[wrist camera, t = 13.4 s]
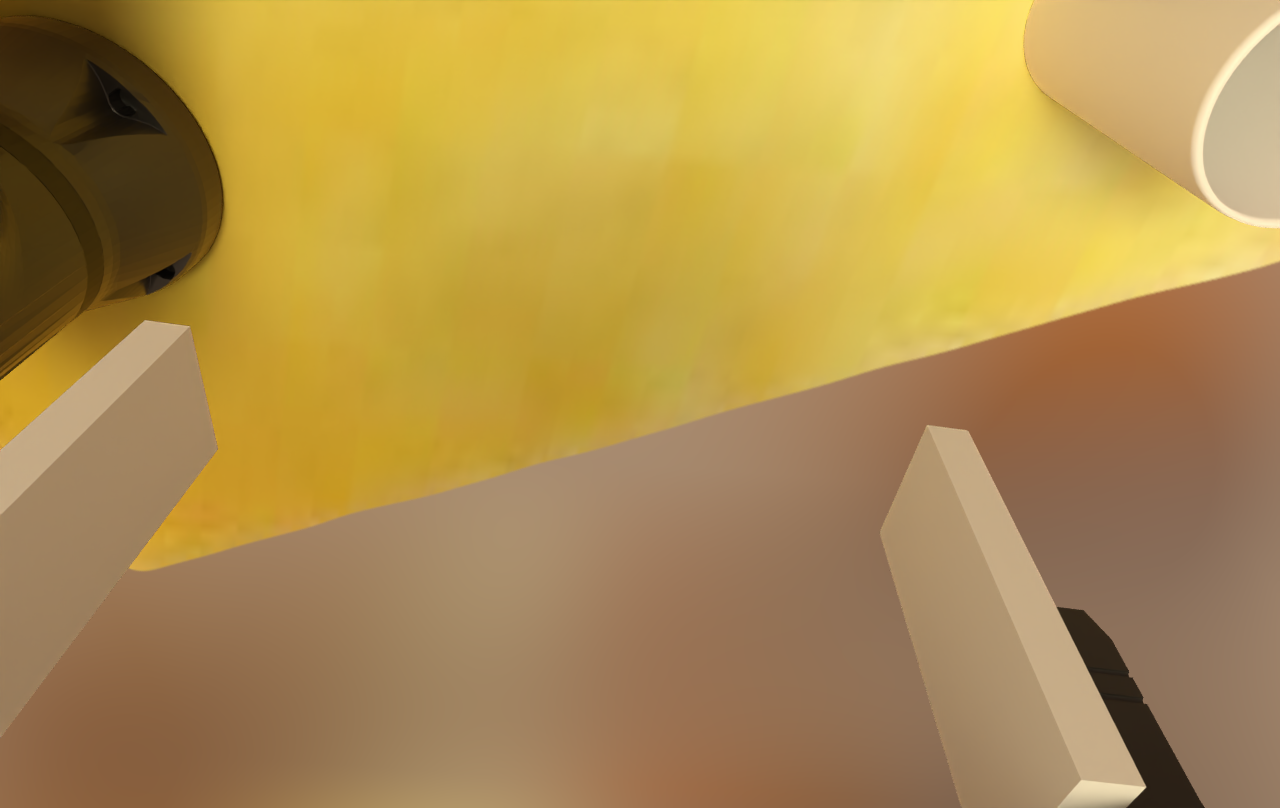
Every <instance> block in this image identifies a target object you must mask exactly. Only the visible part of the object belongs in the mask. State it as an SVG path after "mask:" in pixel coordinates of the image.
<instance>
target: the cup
mask: <svg viewBox="0 0 1280 808" xmlns="http://www.w3.org/2000/svg"><path fill="white" fill-rule="evenodd" d="M1024 55H1025V61H1026V64H1027V68H1028V70H1029V73H1030V75H1031V77H1032V79H1033V80H1034V82H1035V83H1036V85H1037V86H1038V87H1039V88H1040V89H1041V90H1042V91H1043V92H1044V93H1045V94H1046V95H1047V96H1049V97H1050V98H1052V99H1053V100H1055V101H1056V102H1058V103H1059V104H1061V105H1062V106H1063V107H1065V108H1066V109H1068V110H1069V111H1071V112H1072V113H1074V114H1075V115H1077V116H1078V117H1080V118H1081V119H1083V120H1084V121H1086V122H1087V123H1089V124H1090V125H1092V126H1093V127H1095V128H1096V129H1098V130H1099V131H1100V132H1102V133H1103V134H1105V135H1106V136H1108V137H1109V138H1111V139H1112V140H1114V141H1115V142H1117V143H1118V144H1120V145H1121V146H1123V147H1124V148H1126V149H1127V150H1129V151H1130V152H1132V153H1133V154H1134V155H1136V156H1137V157H1139V158H1140V159H1142V160H1143V161H1145V162H1146V163H1148V164H1149V165H1151V166H1152V167H1154V168H1155V169H1157V170H1158V171H1160V172H1161V173H1163V174H1164V175H1166V176H1167V177H1168V178H1170V179H1171V180H1173V181H1174V182H1176V183H1177V184H1179V185H1180V186H1182V187H1183V188H1185V189H1186V190H1188V191H1189V192H1191V193H1192V194H1194V195H1195V196H1197V197H1198V198H1200V199H1201V200H1203V201H1204V202H1206V203H1207V204H1209V205H1210V206H1212V207H1213V208H1215V209H1216V210H1218V211H1219V212H1221V213H1223V214H1224V215H1226V216H1228V217H1230V218H1233V219H1235V220H1237V221H1240V222H1242V223H1245V224H1249V225H1252V226H1258V227H1265V228H1280V0H1034V2H1033V4H1032V6H1031V9H1030V12H1029V15H1028V18H1027V22H1026V27H1025V33H1024Z"/></svg>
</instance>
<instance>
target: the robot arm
mask: <svg viewBox="0 0 1280 808" xmlns="http://www.w3.org/2000/svg"><path fill="white" fill-rule="evenodd" d="M221 216H222V190H221V183H220V178H219V173H218V170H217V166H216V163H215V160H214V157H213V155H212V152H211V150H210V147H209V145H208V143H207V141H206V139H205V137H204V135H203V133H202V131H201V130H200V128H199V126H198V125H197V123H196V121H195V120H194V118H193V117H192V115H191V114H190V112H189V111H188V110H187V108H186V107H185V106H184V104H183V103H182V102H181V101H180V99H179V98H178V97H177V96H176V95H175V93H174V92H173V91H172V90H171V89H170V88H169V87H168V86H167V85H166V84H165V83H164V82H163V81H162V80H161V79H160V78H159V77H158V76H157V75H156V74H155V73H154V72H153V71H152V70H150V69H149V68H148V67H147V66H146V65H144V64H143V63H142V62H141V61H139V60H138V59H137V58H136V57H134V56H133V55H131V54H130V53H128V52H127V51H126V50H124V49H122V48H121V47H119V46H118V45H116V44H114V43H113V42H111V41H109V40H107V39H105V38H104V37H102V36H100V35H97V34H95V33H93V32H91V31H89V30H86V29H84V28H81V27H79V26H76V25H73V24H70V23H67V22H63V21H59V20H56V19H50V18H45V17H37V16H9V17H2V18H0V380H1V379H3V378H4V377H5V376H6V375H7V374H9V373H10V372H11V371H12V370H13V369H15V368H16V367H17V366H18V365H19V364H21V363H22V362H23V361H24V360H26V359H27V358H28V357H29V356H30V355H32V354H33V353H34V352H35V351H36V350H38V349H39V348H40V347H41V346H42V345H44V344H45V343H46V342H47V341H48V340H50V339H51V338H52V337H53V336H54V335H56V334H57V333H58V332H59V331H60V330H62V329H63V328H64V327H65V326H67V325H68V324H69V323H70V322H71V321H72V320H74V319H75V318H76V317H77V316H79V315H80V314H81V313H82V312H84V311H88V310H91V309H95V308H99V307H103V306H107V305H111V304H114V303H118V302H122V301H126V300H130V299H134V298H137V297H141V296H145V295H149V294H151V293H154V292H157V291H159V290H161V289H163V288H165V287H167V286H169V285H171V284H172V283H174V282H175V281H177V280H178V279H179V278H181V277H182V276H183V275H184V274H185V273H187V272H188V271H189V270H190V269H191V268H192V267H193V266H195V265H196V264H197V263H198V262H199V261H200V260H201V259H202V258H203V257H204V256H205V255H206V253H207V252H208V250H209V249H210V248H211V246H212V244H213V242H214V240H215V238H216V235H217V233H218V230H219V226H220V222H221ZM217 450H218V447H217V442H216V438H215V433H214V429H213V425H212V420H211V416H210V412H209V407H208V403H207V398H206V394H205V390H204V385H203V381H202V376H201V372H200V368H199V363H198V359H197V354H196V350H195V346H194V341H193V337H192V332H191V328H190V326H185V325H177V324H170V323H162V322H155V321H147V320H144V321H143V322H142V323H141V324H140V325H139V326H138V327H137V328H136V329H134V330H133V331H132V332H131V333H130V334H129V335H128V336H127V337H126V338H124V339H123V340H122V341H121V342H120V343H119V344H118V345H117V346H116V347H114V348H113V349H112V350H111V351H110V352H109V353H108V354H107V355H106V356H104V357H103V358H102V359H101V360H100V361H99V362H98V363H97V364H96V365H94V366H93V367H92V368H91V369H90V370H89V371H88V372H87V373H86V374H84V375H83V376H82V377H81V378H80V379H79V380H78V381H77V382H76V383H74V384H73V385H72V386H71V387H70V388H69V389H68V390H67V391H66V392H64V393H63V394H62V395H61V396H60V397H59V398H58V399H57V400H56V401H54V402H53V403H52V404H51V405H50V406H49V407H48V408H47V409H46V410H44V411H43V412H42V413H41V414H40V415H39V416H38V417H37V418H36V419H35V420H33V421H32V422H31V423H30V424H29V425H28V426H27V427H26V428H25V429H23V430H22V431H21V432H20V433H19V434H18V435H17V436H16V437H15V438H13V439H12V440H11V441H10V442H9V443H8V444H7V445H6V446H5V447H3V448H2V449H1V450H0V738H1V736H2V735H3V734H4V732H5V731H6V730H7V728H8V727H9V725H10V724H11V723H12V722H13V720H14V719H15V718H16V716H17V715H18V714H19V712H20V711H21V709H22V708H23V707H24V706H25V704H26V703H27V702H28V700H29V699H30V698H31V696H32V695H33V694H34V692H35V691H36V690H37V688H38V687H39V686H40V684H41V683H42V682H43V681H44V679H45V678H46V677H47V675H48V674H49V672H50V671H51V670H52V668H53V667H54V666H55V665H56V663H57V662H58V661H59V659H60V658H61V657H62V655H63V654H64V653H65V651H66V650H67V649H68V647H69V646H70V644H71V643H72V642H73V641H74V639H75V638H76V636H77V635H78V634H79V633H80V631H81V630H82V629H83V627H84V626H85V625H86V623H87V622H88V621H89V619H90V618H91V617H92V615H93V614H94V613H95V611H96V610H97V609H98V607H99V606H100V605H101V603H102V602H103V601H104V600H105V598H106V597H107V596H108V594H109V593H110V592H111V590H112V589H113V588H114V586H115V585H116V584H117V582H118V581H119V579H120V578H121V577H122V576H123V574H124V573H125V572H126V570H127V569H128V568H129V566H130V565H131V564H132V562H133V561H134V560H135V558H136V557H137V556H138V554H139V553H140V552H141V550H142V549H143V548H144V546H145V545H146V544H147V543H148V541H149V540H150V539H151V537H152V536H153V535H154V533H155V532H156V531H157V529H158V528H159V527H160V525H161V524H162V523H163V521H164V520H165V519H166V517H167V516H168V515H169V513H170V512H171V511H172V509H173V508H174V507H175V505H176V504H177V503H178V501H179V500H180V499H181V497H182V496H183V495H184V493H185V492H186V491H187V489H188V488H189V487H190V485H191V484H192V483H193V481H194V480H195V479H196V477H197V476H198V475H199V474H200V472H201V471H202V470H203V468H204V467H205V466H206V464H207V463H208V462H209V460H210V459H211V458H212V456H213V455H214V454H215V452H216V451H217ZM880 536H881V539H882V543H883V546H884V550H885V553H886V556H887V559H888V563H889V566H890V570H891V573H892V576H893V580H894V583H895V587H896V590H897V593H898V597H899V600H900V603H901V607H902V610H903V613H904V617H905V620H906V623H907V627H908V630H909V634H910V637H911V640H912V643H913V647H914V650H915V654H916V657H917V660H918V664H919V667H920V671H921V674H922V677H923V681H924V684H925V687H926V691H927V694H928V697H929V701H930V704H931V707H932V711H933V714H934V718H935V721H936V724H937V728H938V731H939V734H940V738H941V741H942V744H943V748H944V751H945V754H946V758H947V761H948V764H949V768H950V771H951V774H952V778H953V781H954V785H955V788H956V791H957V795H958V798H959V801H960V805H961V808H1205V807H1204V806H1203V804H1202V803H1201V801H1200V800H1199V798H1198V796H1197V794H1196V793H1195V791H1194V789H1193V787H1192V785H1191V783H1190V782H1189V780H1188V778H1187V776H1186V774H1185V772H1184V771H1183V769H1182V767H1181V765H1180V763H1179V762H1178V760H1177V758H1176V756H1175V754H1174V753H1173V751H1172V749H1171V747H1170V745H1169V743H1168V741H1167V740H1166V738H1165V736H1164V735H1163V732H1162V731H1161V729H1160V727H1159V725H1158V723H1157V722H1156V720H1155V718H1154V716H1153V714H1152V712H1151V711H1150V709H1149V707H1148V706H1147V704H1144V703H1143V696H1142V694H1141V692H1140V690H1139V689H1138V687H1137V685H1136V683H1135V681H1134V680H1133V678H1130V677H1129V675H1128V673H1129V670H1128V669H1127V667H1126V665H1125V663H1124V662H1123V660H1122V658H1121V656H1120V654H1119V652H1118V650H1117V649H1116V647H1115V645H1114V643H1113V641H1112V640H1111V639H1110V637H1109V636H1107V634H1106V633H1105V632H1104V631H1103V630H1102V629H1101V628H1100V627H1099V626H1098V625H1097V624H1096V623H1095V622H1094V621H1093V620H1092V619H1091V618H1090V617H1089V616H1088V615H1087V614H1086V613H1085V611H1084V610H1076V609H1069V608H1060V607H1056V606H1055V604H1054V602H1053V600H1052V598H1051V596H1050V594H1049V592H1048V590H1047V588H1046V586H1045V584H1044V582H1043V580H1042V578H1041V576H1040V574H1039V572H1038V570H1037V568H1036V566H1035V564H1034V562H1033V560H1032V558H1031V556H1030V554H1029V552H1028V550H1027V548H1026V546H1025V544H1024V542H1023V540H1022V538H1021V536H1020V534H1019V532H1018V530H1017V528H1016V526H1015V524H1014V522H1013V520H1012V518H1011V516H1010V514H1009V512H1008V510H1007V508H1006V506H1005V504H1004V502H1003V500H1002V498H1001V496H1000V494H999V492H998V490H997V488H996V486H995V484H994V482H993V480H992V478H991V476H990V474H989V472H988V470H987V468H986V466H985V464H984V462H983V460H982V458H981V456H980V454H979V452H978V450H977V448H976V446H975V444H974V442H973V440H972V438H971V436H970V434H969V432H968V431H967V430H960V429H953V428H946V427H938V426H930V425H927V426H926V429H925V431H924V433H923V435H922V438H921V440H920V442H919V444H918V447H917V449H916V451H915V453H914V456H913V458H912V460H911V463H910V465H909V467H908V470H907V471H906V474H905V476H904V478H903V481H902V483H901V485H900V487H899V490H898V492H897V494H896V497H895V499H894V501H893V503H892V505H891V508H890V510H889V512H888V514H887V517H886V519H885V521H884V524H883V526H882V528H881V530H880Z"/></svg>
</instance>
